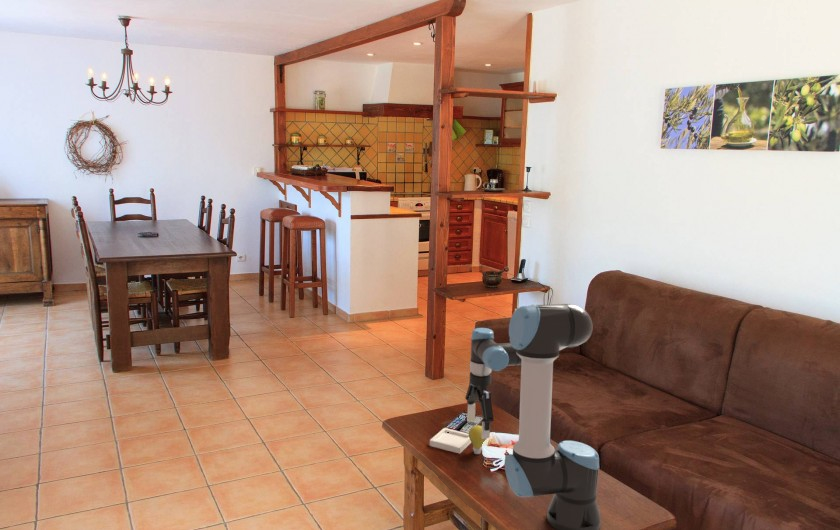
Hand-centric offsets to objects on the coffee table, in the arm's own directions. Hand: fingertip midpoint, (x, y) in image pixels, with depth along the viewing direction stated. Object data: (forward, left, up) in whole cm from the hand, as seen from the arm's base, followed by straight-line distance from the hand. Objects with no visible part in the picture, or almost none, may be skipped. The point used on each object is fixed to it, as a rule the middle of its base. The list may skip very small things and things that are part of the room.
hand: (477, 429), depth 225 cm
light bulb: (0, 0, -9) cm, 9 cm away
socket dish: (+2, +11, -9) cm, 14 cm away
